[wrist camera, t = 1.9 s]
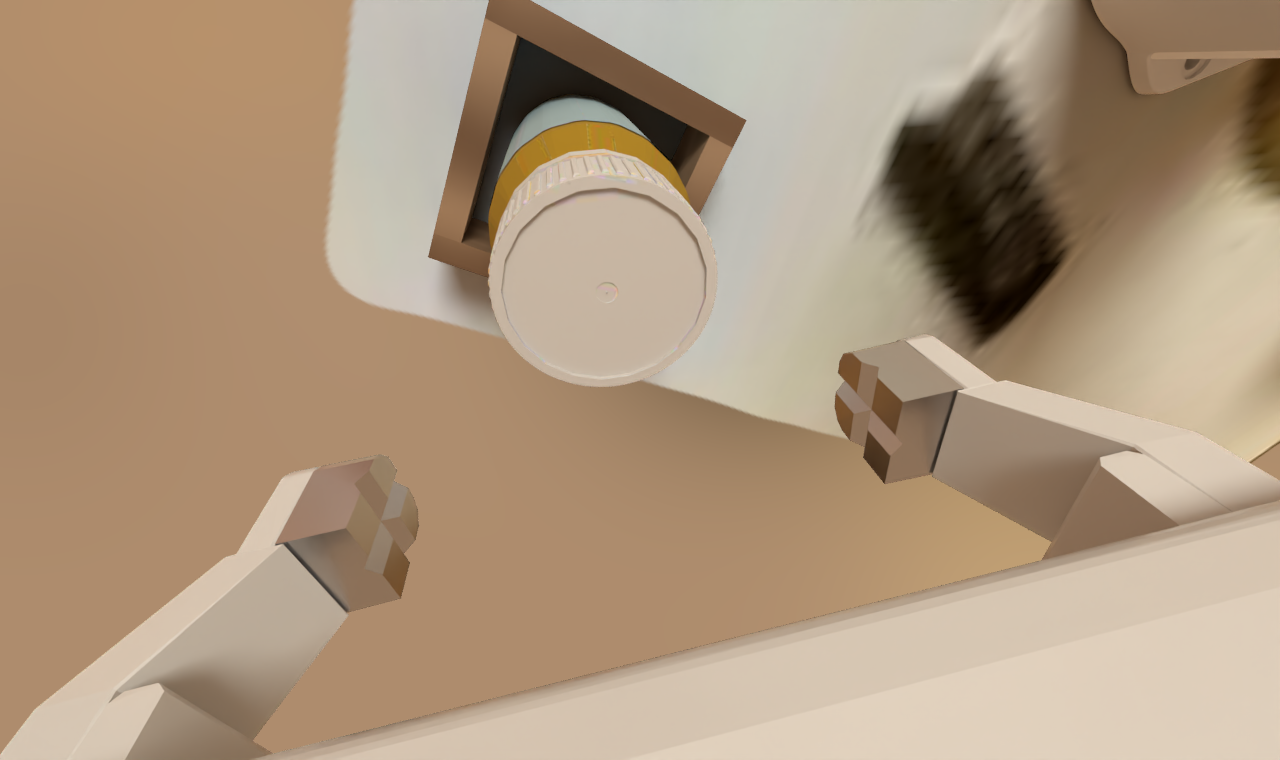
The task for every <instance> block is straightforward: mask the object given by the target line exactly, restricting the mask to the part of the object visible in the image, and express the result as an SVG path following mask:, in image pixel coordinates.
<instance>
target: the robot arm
mask: <svg viewBox="0 0 1280 760" xmlns="http://www.w3.org/2000/svg"><path fill="white" fill-rule="evenodd" d="M1091 1H1092V4H1093V7H1094V10H1095V12H1096V14H1097V16H1098V18H1099V19H1100V21H1101V23H1102V24H1103V25H1104V26H1105V28H1106V29H1107V30H1108V31H1109V32H1110V33H1111V34H1112V35H1113V36H1114V37H1115V38H1116V39H1117V40H1118V41H1119V42H1120V43H1121V44H1122V46H1123V47H1124V48H1125V50H1126V52H1127V58H1128V65H1129V72H1130V78H1131V82H1132V85H1133V88H1134V89H1135V91H1136V92H1137V93H1139V94H1163V93H1167V92H1170V91H1173V90H1175V89H1178V88H1180V87H1183V86H1185V85H1188V84H1190V83H1193V82H1195V81H1198V80H1201V79H1203V78H1206V77H1208V76H1211V75H1213V74H1216V73H1218V72H1221V71H1223V70H1226V69H1229V68H1231V67H1234V66H1236V65H1239V64H1241V63H1244V62H1246V61H1249V60H1251V59H1254V58H1280V0H1091ZM838 373H839V374H840V376H841V377H842V378H843V379H844V380H845V381H844V383H843V384H842V385H841V386H840V388H839V389H838V390H837V392H836V396H835V411H836V415H837V420H838V422H839V424H840V427H841V429H842V431H843V432H844V433H845V435H846V436H847V437H848V439H849V440H850V441H852V442H855V443H857V444H859V445H861V446H864V447H865V449H864V456H863V458H864V459H865V460H866V461H867V463H868V464H869V465H870V466H871V468H872V469H873V470H874V471H875V473H876V474H877V475H878V476H879V478H880V479H881V480H882V481H883V483H884V484H887V483H891V482H897V481H902V480H906V479H911V478H915V477H921V476H925V475H930V474H932V477H934V478H935V479H937V480H939V481H941V482H943V483H945V484H947V485H948V486H950V487H952V488H954V489H956V490H957V491H959V492H961V493H963V494H965V495H967V496H968V497H970V498H972V499H974V500H976V501H978V502H980V503H981V504H983V505H985V506H987V507H989V508H990V509H992V510H994V511H996V512H998V513H1000V514H1001V515H1003V516H1005V517H1007V518H1009V519H1011V520H1013V521H1014V522H1016V523H1018V524H1020V525H1022V526H1024V527H1025V528H1027V529H1029V530H1031V531H1033V532H1035V533H1036V534H1038V535H1040V536H1042V537H1044V538H1046V539H1047V540H1050V541H1051V542H1052V543H1051V544H1050V546H1049V548H1048V550H1047V552H1046V553H1045V555H1044V557H1043V558H1042V560H1041V561H1037V562H1033V563H1029V564H1025V565H1021V566H1017V567H1013V568H1009V569H1005V570H1001V571H997V572H993V573H990V574H985V575H982V576H977V577H973V578H969V579H966V580H961V581H957V582H953V583H949V584H945V585H941V586H938V587H934V588H930V589H926V590H922V591H918V592H914V593H910V594H906V595H902V596H898V597H894V598H890V599H886V600H882V601H878V602H874V603H870V604H866V605H862V606H858V607H854V608H850V609H846V610H842V611H838V612H834V613H830V614H827V615H823V616H818V617H814V618H810V619H806V620H803V621H799V622H795V623H791V624H787V625H783V626H779V627H775V628H771V629H767V630H763V631H759V632H755V633H751V634H747V635H743V636H739V637H735V638H731V639H728V640H723V641H720V642H715V643H711V644H707V645H703V646H699V647H695V648H691V649H687V650H683V651H680V652H675V653H672V654H668V655H664V656H660V657H656V658H652V659H648V660H644V661H640V662H636V663H632V664H628V665H624V666H620V667H616V668H612V669H608V670H605V671H600V672H596V673H593V674H589V675H585V676H580V677H577V678H573V679H569V680H565V681H561V682H557V683H553V684H549V685H545V686H541V687H537V688H533V689H529V690H525V691H521V692H517V693H513V694H509V695H505V696H501V697H497V698H493V699H489V700H485V701H481V702H477V703H473V704H469V705H466V706H461V707H457V708H453V709H449V710H445V711H442V712H437V713H434V714H429V715H425V716H422V717H418V718H414V719H410V720H406V721H402V722H398V723H394V724H390V725H386V726H382V727H378V728H374V729H370V730H366V731H362V732H358V733H354V734H350V735H346V736H342V737H338V738H334V739H330V740H326V741H322V742H319V743H314V744H310V745H306V746H303V747H298V748H295V749H290V750H286V751H282V752H278V753H274V754H273V753H271V752H270V751H268V750H267V749H265V748H264V747H262V746H260V745H259V744H257V743H255V742H254V741H253V739H254V738H255V737H256V736H257V734H258V733H259V732H260V730H261V729H262V728H263V726H264V725H265V724H266V722H267V721H268V720H269V718H270V717H271V716H272V715H273V713H274V712H275V711H276V709H277V708H278V707H279V705H280V704H281V703H282V701H283V700H284V699H285V698H286V696H287V695H288V694H289V692H290V691H291V690H292V688H293V687H294V686H295V684H296V683H297V682H298V681H299V679H300V678H301V677H302V675H303V674H304V673H305V671H306V670H307V669H308V668H309V666H310V665H311V664H312V662H313V661H314V660H315V658H316V657H317V656H318V654H319V653H320V652H321V650H322V649H323V648H324V647H325V645H326V644H327V643H328V641H329V640H330V639H331V637H332V636H333V635H334V633H335V632H336V631H337V630H338V628H339V627H340V626H341V624H342V623H343V622H344V620H345V619H346V618H347V616H348V613H347V612H351V611H355V610H359V609H363V608H366V607H370V606H374V605H378V604H382V603H385V602H389V601H393V600H397V599H400V598H401V596H402V592H403V588H404V584H405V580H406V576H407V572H408V568H409V564H410V562H409V561H408V559H407V558H406V556H405V555H404V553H405V551H406V550H407V549H408V548H409V547H410V546H411V545H412V544H413V542H414V541H415V540H416V536H417V531H418V527H419V524H418V509H417V506H416V503H415V500H414V497H413V495H412V494H411V492H410V490H409V489H408V488H407V487H405V486H403V485H401V484H399V483H397V482H395V481H394V479H395V475H396V473H397V469H396V468H395V466H394V465H393V463H392V462H391V460H390V459H389V457H387V456H384V455H375V456H370V457H365V458H360V459H354V460H349V461H344V462H339V463H334V464H329V465H325V466H321V467H315V468H311V469H306V470H301V471H296V472H292V473H290V474H288V475H286V476H285V477H283V478H282V479H281V481H280V483H279V484H278V486H277V488H276V490H275V491H274V493H273V494H272V496H271V498H270V499H269V501H268V503H267V505H266V506H265V508H264V509H263V511H262V513H261V514H260V516H259V517H258V519H257V521H256V523H255V524H254V526H253V528H252V529H251V531H250V533H249V534H248V536H247V537H246V539H245V541H244V542H243V544H242V546H241V547H240V549H239V551H238V552H237V554H236V555H232V556H227V557H225V558H224V559H222V560H221V561H220V562H219V563H217V564H216V565H215V566H214V567H212V568H211V569H210V570H209V571H207V572H206V573H205V574H204V575H202V576H201V577H200V578H199V579H197V580H196V581H195V582H194V583H192V584H191V585H190V586H189V587H187V588H186V589H185V590H184V591H182V592H181V593H180V594H179V595H177V596H176V597H175V598H174V599H172V600H171V601H170V602H169V603H167V604H166V605H165V606H163V608H161V609H160V610H158V611H157V612H156V613H155V614H153V615H152V616H151V617H150V618H148V619H147V620H146V621H145V622H143V623H142V624H141V625H140V626H139V627H137V628H136V629H135V630H134V631H132V632H131V633H130V634H128V635H127V636H126V637H125V638H123V639H122V640H121V641H120V642H118V643H117V644H116V645H115V646H114V647H112V648H111V649H110V650H108V651H107V652H106V653H105V654H103V655H102V656H101V657H100V658H98V659H97V660H96V661H95V662H94V663H92V664H91V665H90V666H88V667H87V668H86V669H85V670H83V671H82V672H81V673H80V674H78V675H77V676H76V677H75V678H73V679H72V680H71V681H70V682H68V683H67V684H66V685H65V686H63V687H62V688H61V689H60V690H58V691H57V692H56V693H55V694H53V695H52V696H51V697H50V698H48V699H47V700H46V701H45V702H43V703H42V704H41V705H40V706H38V707H37V708H36V709H35V710H34V711H33V712H32V714H31V715H30V716H29V718H28V719H27V720H26V722H25V723H24V724H23V725H22V727H21V728H20V729H19V731H18V732H17V733H16V735H15V736H14V737H13V739H12V740H11V741H10V742H9V744H8V745H7V746H6V748H5V749H4V750H3V752H2V753H1V754H0V760H1280V481H1279V480H1277V479H1276V478H1274V477H1272V476H1271V475H1269V474H1267V473H1266V472H1264V471H1262V470H1261V469H1259V468H1257V467H1255V466H1254V465H1252V464H1250V463H1249V462H1247V461H1245V460H1243V459H1242V458H1240V457H1238V456H1237V455H1235V454H1233V453H1232V452H1230V451H1228V450H1226V449H1225V448H1223V447H1221V446H1220V445H1218V444H1216V443H1214V442H1213V441H1211V440H1209V439H1208V438H1206V437H1204V436H1203V435H1201V434H1199V433H1197V432H1194V431H1191V430H1187V429H1183V428H1180V427H1176V426H1172V425H1169V424H1165V423H1161V422H1158V421H1154V420H1150V419H1147V418H1143V417H1139V416H1136V415H1132V414H1128V413H1125V412H1121V411H1117V410H1114V409H1110V408H1106V407H1103V406H1099V405H1095V404H1092V403H1088V402H1084V401H1081V400H1077V399H1073V398H1069V397H1066V396H1062V395H1058V394H1055V393H1051V392H1047V391H1044V390H1040V389H1036V388H1033V387H1029V386H1025V385H1022V384H1018V383H1014V382H1011V381H1007V380H1004V381H999V382H996V381H995V380H993V379H992V378H991V377H989V376H988V375H986V374H985V373H984V372H982V371H981V370H980V369H978V368H977V367H975V366H974V365H973V364H971V363H970V362H969V361H967V360H966V359H964V358H963V357H962V356H960V355H959V354H957V353H956V352H955V351H953V350H952V349H951V348H949V347H948V346H946V345H945V344H944V343H942V342H941V341H939V340H938V339H937V338H935V337H934V336H931V335H927V334H922V335H918V336H914V337H910V338H906V339H902V340H898V341H897V342H893V343H889V344H884V345H880V346H875V347H871V348H866V349H862V350H857V351H853V352H848V353H844V354H843V356H842V358H841V360H840V363H839V370H838Z"/></svg>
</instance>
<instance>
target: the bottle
mask: <svg viewBox="0 0 1280 760" xmlns="http://www.w3.org/2000/svg"><path fill="white" fill-rule="evenodd" d="M488 222H489V236H490V246H491V250H492V253H491V257H490V264H489V268H488V273H489V278H488V286H489V287H490V291H489V298H490V299H491V303H492V304H491V307H492V310H493V311H494V314H495V318H496V321H497V322H498V325H499V327H500V329H501V331H502V332H503V334H504V336H505V337H506V339H507V340H508V342H509V343H510V344H511V346H512V347H513V348H514V349H515V350H516V351H517V352H518V354H519V355H520V356H521V357H522V358H524V359H525V360H526V361H527V362H528V363H530V364H531V365H532V366H534V367H535V368H537V369H538V370H540V371H542V372H543V373H545V374H547V375H549V376H551V377H554V378H556V379H559V380H562V381H565V382H568V383H572V384H576V385H582V386H590V387H591V386H592V387H610V386H618V385H624V384H629V383H633V382H636V381H639V380H642V379H645V378H647V377H650V376H652V375H654V374H656V373H658V372H660V371H661V370H663V369H665V368H666V367H668V366H669V365H671V364H672V363H674V362H675V361H676V360H677V359H679V358H680V357H681V356H682V355H683V354H684V353H685V352H686V351H687V350H688V349H689V348H690V347H691V346H692V345H693V343H694V342H695V341H696V339H697V338H698V337H699V335H700V334H701V332H702V331H703V329H704V327H705V325H706V323H707V321H708V319H709V317H710V314H711V311H712V308H713V305H714V301H715V297H716V290H717V262H716V259H715V251H714V249H713V247H712V245H711V244H712V241H711V238H710V237H709V236H708V234H707V229H706V227H705V226H704V225H703V223H702V222H701V219H700V217H699V216H698V215H697V213H696V212H695V211H694V210H693V208H692V207H691V206H690V200H689V197H688V194H687V191H686V189H685V187H684V185H683V183H682V181H681V179H680V177H679V175H678V173H677V171H676V169H675V168H674V166H673V165H672V163H671V162H670V161H669V159H668V158H667V157H666V156H665V155H664V154H663V153H662V152H661V151H660V150H659V149H658V148H657V147H656V146H655V145H654V144H653V143H652V142H651V141H650V140H649V139H648V138H647V137H646V136H645V135H644V134H643V133H642V132H641V131H640V130H639V129H638V128H637V127H636V126H635V125H634V124H633V123H632V122H631V121H630V120H629V119H628V118H627V117H626V116H625V115H624V114H623V113H622V112H621V111H619V110H618V109H617V108H615V107H614V106H612V105H610V104H608V103H606V102H604V101H602V100H600V99H598V98H595V97H592V96H585V95H576V94H568V95H563V96H559V97H555V98H552V99H549V100H547V101H544V102H543V103H541V104H540V105H539V106H537V107H536V108H534V109H533V110H532V111H530V112H529V113H528V114H527V115H526V116H525V118H524V119H523V121H522V122H521V124H520V125H519V127H518V128H517V129H516V131H515V132H514V135H513V137H512V139H511V142H510V145H509V148H508V150H507V153H506V156H505V159H504V162H503V165H502V168H501V170H500V173H499V176H498V179H497V182H496V185H495V189H494V193H493V197H492V200H491V204H490V210H489V218H488Z"/></svg>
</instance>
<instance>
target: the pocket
mask: <svg viewBox="0 0 1280 760" xmlns="http://www.w3.org/2000/svg"><path fill="white" fill-rule="evenodd" d="M521 37H522V38H524V39H526V40H528V41H530V42H531V43H533V44H535V45H537V46H539V47H541V48H543V49H545V50H547V51H549V52H551V53H552V54H554V55H556V56H558V57H560V58H562V59H564V60H566V61H568V62H570V63H572V64H573V65H575V66H577V67H579V68H581V69H583V70H585V71H587V72H589V73H591V74H592V75H594V76H596V77H598V78H600V79H602V80H604V81H606V82H608V83H610V84H612V85H613V86H615V87H617V88H619V89H621V90H623V91H625V92H627V93H629V94H631V95H633V96H634V97H636V98H638V99H640V100H642V101H644V102H646V103H648V104H650V105H652V106H653V107H655V108H657V109H659V110H661V111H663V112H665V113H667V114H669V115H671V116H673V117H674V118H676V119H678V120H680V121H682V122H684V123H686V124H688V126H687V128H686V130H685V132H684V134H683V137H682V139H681V141H680V143H679V146H678V148H677V150H676V152H675V154H674V157H673V159H672V161H671V163H672V165H673V166H674V168H675V169H676V171H677V173H678V175H679V177H680V179H681V181H682V183H683V185H684V187H685V189H686V191H687V194H688V197H689V200H690V206H691V207H692V208H693V210H694V211H695V212H696V213H697V215H698V216H699V214H700V212H701V210H702V208H703V206H704V204H705V202H706V200H707V198H708V196H709V194H710V192H711V190H712V188H713V186H714V184H715V182H716V180H717V178H718V176H719V174H720V172H721V170H722V168H723V166H724V164H725V162H726V160H727V158H728V156H729V154H730V152H731V150H732V148H733V146H734V144H735V142H736V140H737V138H738V136H739V134H740V132H741V130H742V128H743V126H744V124H745V122H746V120H745V119H743V118H741V117H739V116H738V115H736V114H734V113H732V112H730V111H729V110H727V109H725V108H723V107H721V106H720V105H718V104H716V103H714V102H712V101H711V100H709V99H707V98H705V97H703V96H702V95H700V94H698V93H696V92H694V91H693V90H691V89H689V88H687V87H685V86H684V85H682V84H680V83H678V82H676V81H675V80H673V79H671V78H669V77H667V76H666V75H664V74H662V73H660V72H658V71H657V70H655V69H653V68H651V67H649V66H648V65H646V64H644V63H642V62H640V61H639V60H637V59H635V58H633V57H631V56H630V55H628V54H626V53H624V52H622V51H621V50H619V49H617V48H615V47H613V46H612V45H610V44H608V43H606V42H604V41H603V40H601V39H599V38H597V37H595V36H594V35H592V34H590V33H588V32H586V31H585V30H583V29H581V28H579V27H577V26H576V25H574V24H572V23H570V22H568V21H567V20H565V19H563V18H561V17H559V16H558V15H556V14H554V13H552V12H550V11H549V10H547V9H545V8H543V7H541V6H540V5H538V4H536V3H534V2H532V1H531V0H489V3H488V7H487V11H486V15H485V20H484V24H483V28H482V32H481V36H480V41H479V45H478V49H477V53H476V57H475V62H474V66H473V70H472V74H471V79H470V83H469V87H468V91H467V95H466V100H465V104H464V108H463V112H462V117H461V121H460V125H459V129H458V133H457V138H456V142H455V146H454V150H453V155H452V159H451V163H450V167H449V171H448V176H447V180H446V184H445V188H444V192H443V197H442V201H441V205H440V209H439V214H438V218H437V222H436V226H435V230H434V235H433V239H432V243H431V247H430V252H429V256H428V257H429V258H432V259H435V260H438V261H441V262H444V263H447V264H450V265H453V266H456V267H458V268H461V269H464V270H467V271H470V272H473V273H476V274H479V275H482V276H485V277H488V278H489V273H488V268H489V264H490V257H491V253H492V250H491V246H490V236H489V223H486V222H483V221H481V220H478V219H475V218H473V217H472V215H473V212H474V208H475V204H476V201H477V197H478V193H479V190H480V186H481V182H482V179H483V175H484V171H485V168H486V164H487V160H488V157H489V153H490V149H491V146H492V142H493V138H494V135H495V131H496V127H497V124H498V120H499V116H500V113H501V109H502V105H503V102H504V98H505V94H506V91H507V87H508V83H509V80H510V76H511V72H512V69H513V65H514V61H515V57H516V54H517V50H518V46H519V43H520V39H521Z"/></svg>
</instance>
